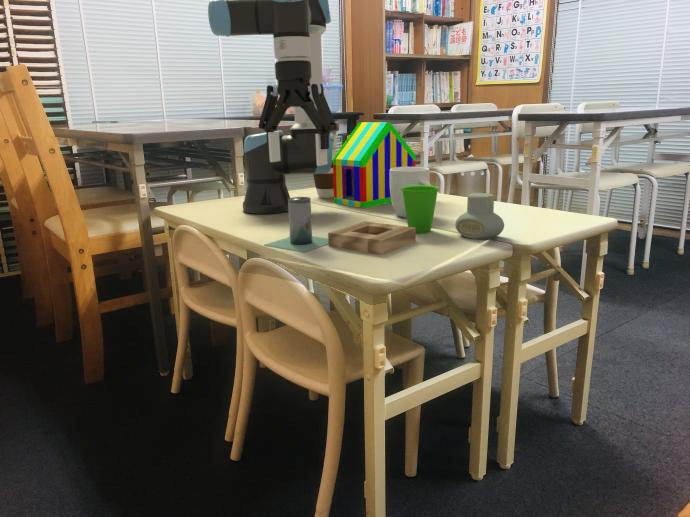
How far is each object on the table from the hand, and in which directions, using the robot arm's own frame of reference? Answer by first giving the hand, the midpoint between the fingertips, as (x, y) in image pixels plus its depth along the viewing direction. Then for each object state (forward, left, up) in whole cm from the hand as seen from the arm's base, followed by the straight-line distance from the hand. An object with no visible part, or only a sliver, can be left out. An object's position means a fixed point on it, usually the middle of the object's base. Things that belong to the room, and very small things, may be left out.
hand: (297, 163), depth 120 cm
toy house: (-18, +58, -19) cm, 63 cm away
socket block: (+14, +8, -18) cm, 24 cm away
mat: (0, 0, -18) cm, 18 cm away
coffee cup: (-37, +56, -19) cm, 69 cm away
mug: (+5, +41, -19) cm, 45 cm away
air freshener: (+31, +27, -19) cm, 45 cm away
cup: (+17, +24, -19) cm, 35 cm away
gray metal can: (0, 0, -18) cm, 18 cm away
